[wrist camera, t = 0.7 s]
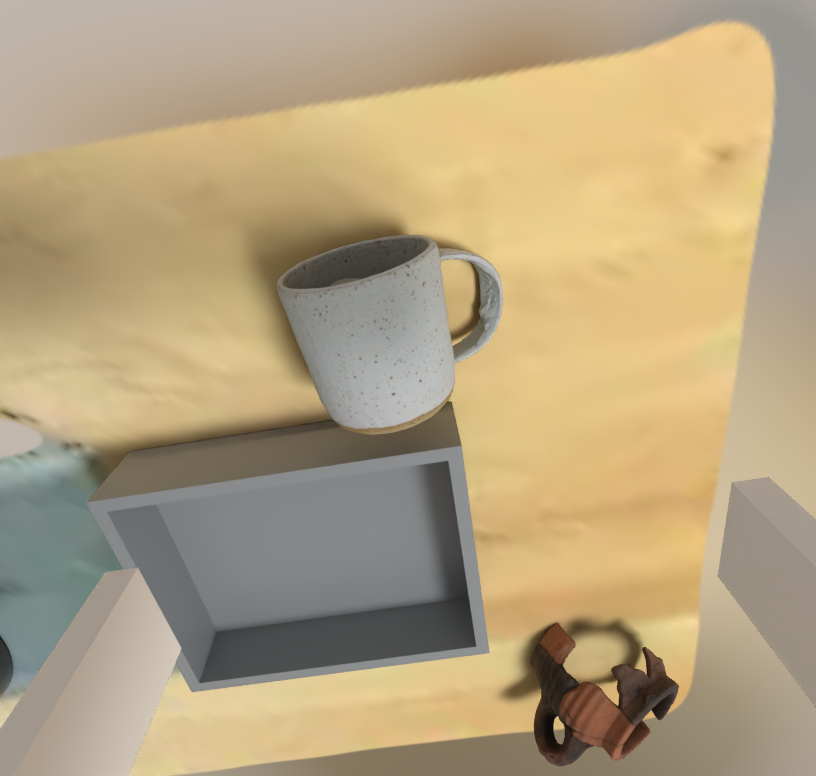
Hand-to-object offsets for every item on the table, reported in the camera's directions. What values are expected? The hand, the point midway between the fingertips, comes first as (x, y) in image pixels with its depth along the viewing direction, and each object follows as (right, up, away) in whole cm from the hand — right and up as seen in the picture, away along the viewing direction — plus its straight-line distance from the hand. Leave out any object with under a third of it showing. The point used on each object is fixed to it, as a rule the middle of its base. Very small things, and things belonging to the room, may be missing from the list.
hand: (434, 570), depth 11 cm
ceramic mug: (-1, +9, +17) cm, 19 cm away
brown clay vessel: (+14, -18, +31) cm, 39 cm away
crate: (-7, -6, +24) cm, 25 cm away
